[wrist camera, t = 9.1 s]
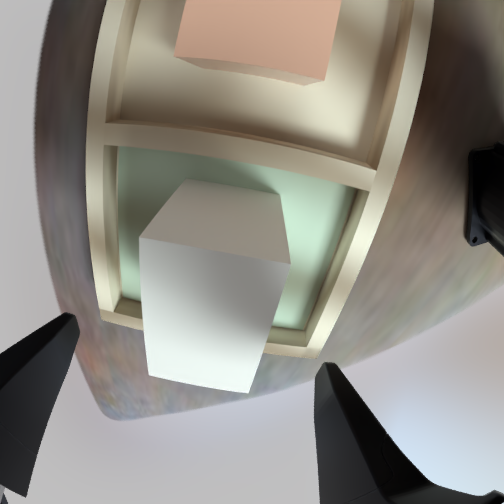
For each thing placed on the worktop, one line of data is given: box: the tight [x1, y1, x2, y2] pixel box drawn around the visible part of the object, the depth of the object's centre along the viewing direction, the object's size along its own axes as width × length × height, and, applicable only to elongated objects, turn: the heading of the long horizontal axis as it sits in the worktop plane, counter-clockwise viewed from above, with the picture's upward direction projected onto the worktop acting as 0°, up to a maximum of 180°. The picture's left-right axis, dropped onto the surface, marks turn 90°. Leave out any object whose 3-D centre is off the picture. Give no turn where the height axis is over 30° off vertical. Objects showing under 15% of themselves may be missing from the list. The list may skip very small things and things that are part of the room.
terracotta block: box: [173, 0, 342, 86], centre depth 8 cm, size 4×4×4 cm
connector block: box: [139, 178, 291, 393], centre depth 13 cm, size 4×7×6 cm, turn 169°
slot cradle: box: [86, 0, 434, 359], centre depth 12 cm, size 23×14×2 cm, turn 169°
